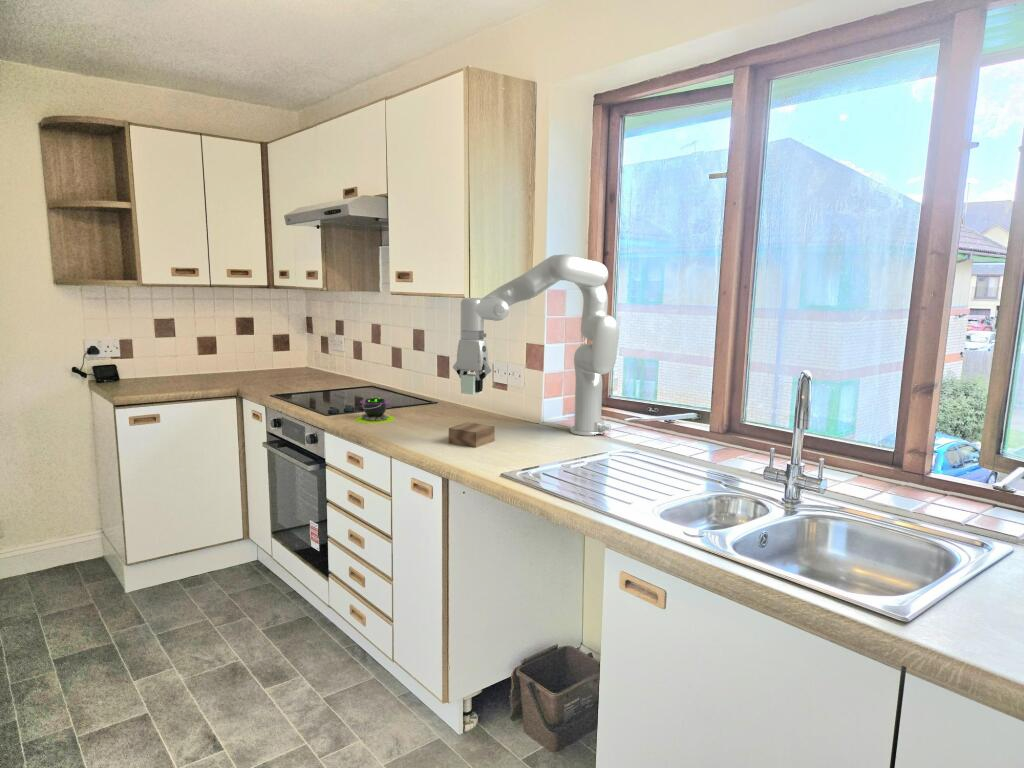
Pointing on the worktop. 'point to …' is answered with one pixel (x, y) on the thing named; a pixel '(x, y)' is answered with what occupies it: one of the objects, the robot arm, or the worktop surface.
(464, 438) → the block
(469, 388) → the sage block
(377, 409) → the toy cauldron
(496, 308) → the robot arm
